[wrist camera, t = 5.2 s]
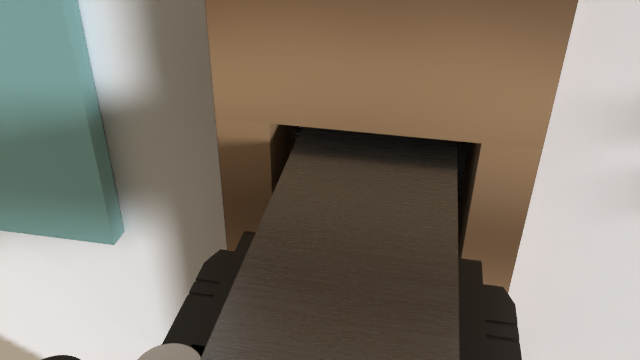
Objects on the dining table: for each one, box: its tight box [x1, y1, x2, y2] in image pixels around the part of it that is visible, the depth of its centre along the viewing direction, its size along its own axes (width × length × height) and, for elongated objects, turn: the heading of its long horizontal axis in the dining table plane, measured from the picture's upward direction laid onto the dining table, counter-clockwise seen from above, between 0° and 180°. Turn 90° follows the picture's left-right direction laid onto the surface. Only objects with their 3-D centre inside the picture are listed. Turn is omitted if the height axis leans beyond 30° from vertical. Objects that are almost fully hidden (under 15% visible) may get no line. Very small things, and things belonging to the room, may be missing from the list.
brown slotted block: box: [205, 0, 578, 293], centre depth 18 cm, size 24×8×3 cm, turn 179°
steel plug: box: [200, 127, 459, 360], centre depth 14 cm, size 4×4×10 cm
